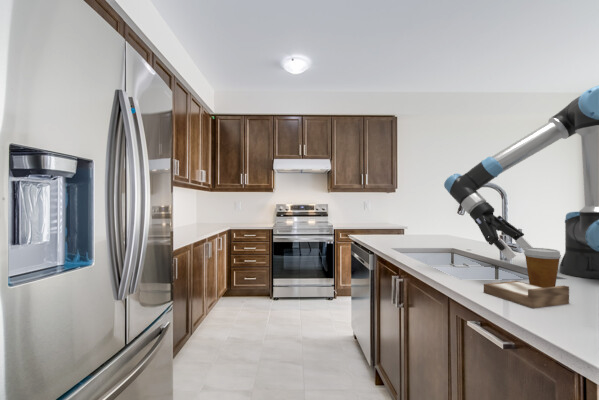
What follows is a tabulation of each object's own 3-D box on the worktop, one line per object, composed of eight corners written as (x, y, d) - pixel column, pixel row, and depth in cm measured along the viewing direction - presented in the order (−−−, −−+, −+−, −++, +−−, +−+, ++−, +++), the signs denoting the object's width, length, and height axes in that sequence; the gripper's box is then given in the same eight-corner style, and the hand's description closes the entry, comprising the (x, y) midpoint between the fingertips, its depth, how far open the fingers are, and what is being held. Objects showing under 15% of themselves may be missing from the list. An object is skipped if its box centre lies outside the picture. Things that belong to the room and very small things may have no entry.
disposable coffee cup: (568, 293, 97) (568, 252, 97) (532, 291, 99) (532, 251, 99) (550, 285, 107) (550, 248, 106) (518, 283, 108) (518, 247, 108)
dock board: (516, 288, 102) (516, 274, 102) (569, 303, 87) (569, 286, 87) (483, 292, 98) (483, 277, 98) (532, 308, 84) (532, 290, 84)
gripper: (489, 214, 128) (532, 259, 115) (450, 216, 115) (494, 266, 102) (503, 201, 123) (550, 245, 111) (464, 201, 110) (512, 252, 98)
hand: (523, 255), depth 106 cm, fingers open, 13 cm apart
